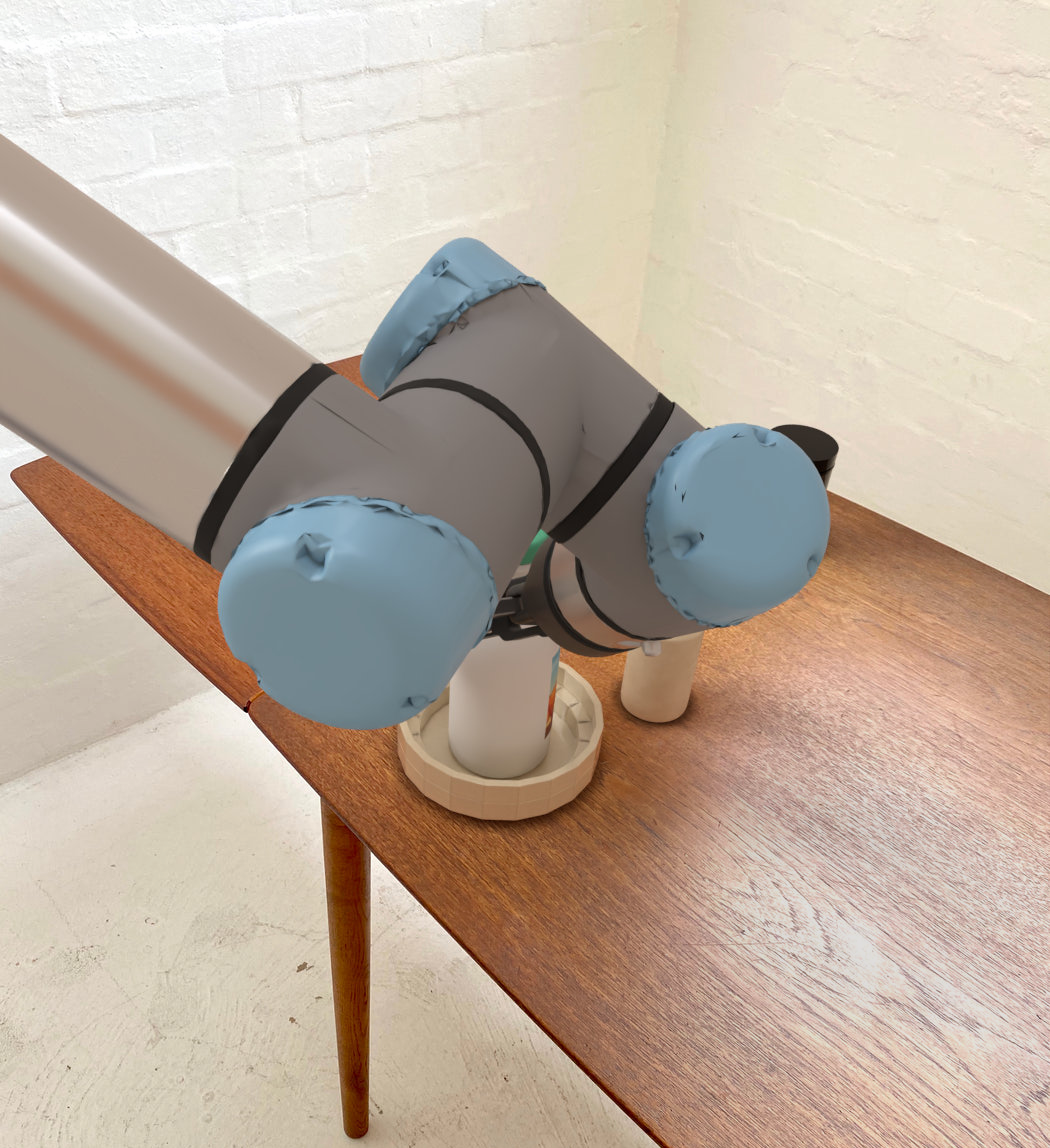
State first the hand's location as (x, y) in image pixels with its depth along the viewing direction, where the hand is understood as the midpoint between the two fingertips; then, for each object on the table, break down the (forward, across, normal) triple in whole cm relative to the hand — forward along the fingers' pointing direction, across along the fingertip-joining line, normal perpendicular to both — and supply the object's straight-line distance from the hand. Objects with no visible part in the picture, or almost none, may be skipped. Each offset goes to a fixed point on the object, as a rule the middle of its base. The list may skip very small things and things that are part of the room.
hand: (507, 628), depth 77 cm
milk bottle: (+8, 0, -8) cm, 11 cm away
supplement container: (+23, +36, +6) cm, 43 cm away
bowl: (+8, 0, -8) cm, 12 cm away
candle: (+10, +14, -7) cm, 18 cm away
